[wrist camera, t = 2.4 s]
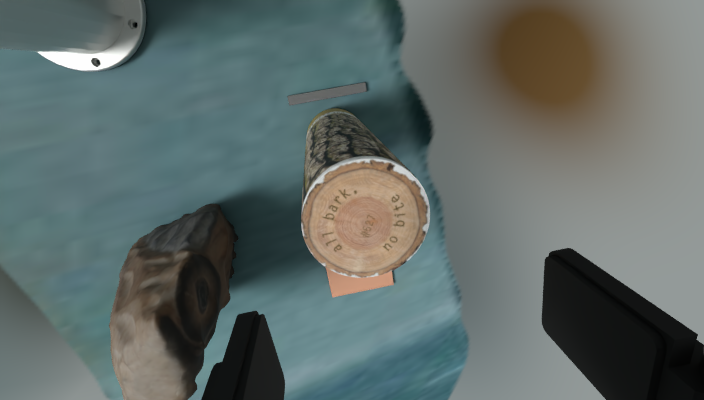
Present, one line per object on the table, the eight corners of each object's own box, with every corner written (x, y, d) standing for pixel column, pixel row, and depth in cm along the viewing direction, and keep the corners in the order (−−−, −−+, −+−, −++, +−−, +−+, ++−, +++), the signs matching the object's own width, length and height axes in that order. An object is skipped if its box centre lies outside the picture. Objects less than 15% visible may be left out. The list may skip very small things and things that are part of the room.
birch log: (299, 154, 41) (285, 261, 18) (316, 99, 39) (324, 139, 16) (352, 170, 43) (401, 289, 19) (370, 118, 41) (451, 181, 17)
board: (287, 96, 39) (287, 96, 38) (365, 82, 39) (365, 82, 39) (332, 296, 49) (332, 297, 49) (393, 283, 49) (393, 284, 49)
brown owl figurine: (221, 192, 42) (149, 289, 23) (274, 269, 46) (250, 401, 28) (133, 237, 42) (-5, 365, 24) (194, 308, 47) (118, 463, 28)
